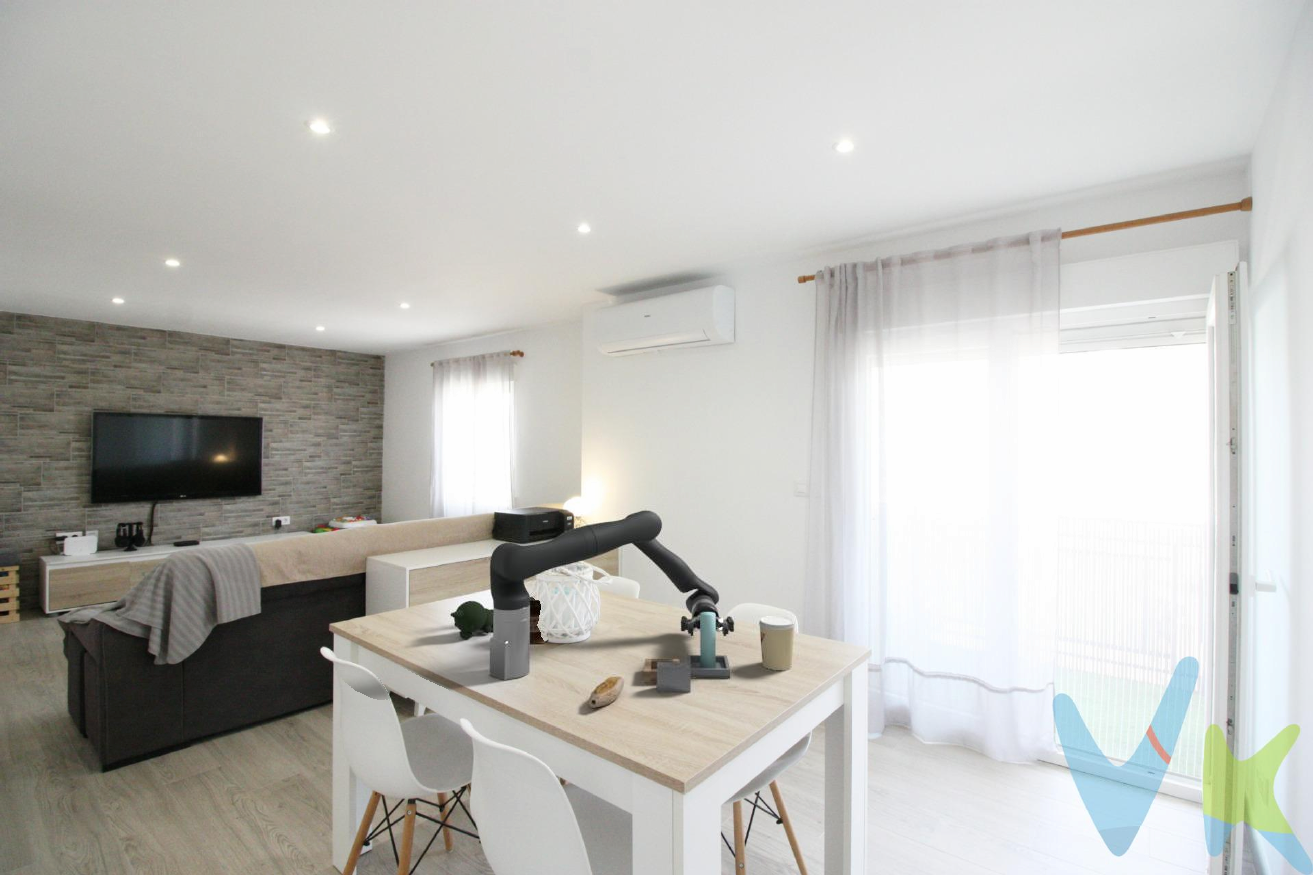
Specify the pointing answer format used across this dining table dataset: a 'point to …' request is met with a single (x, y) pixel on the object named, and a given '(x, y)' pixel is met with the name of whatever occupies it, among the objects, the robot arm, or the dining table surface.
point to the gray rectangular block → (673, 677)
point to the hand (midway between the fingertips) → (708, 631)
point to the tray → (718, 672)
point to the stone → (606, 692)
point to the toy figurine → (472, 619)
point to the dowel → (707, 640)
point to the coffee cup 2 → (777, 642)
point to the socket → (653, 669)
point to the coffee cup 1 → (535, 621)
